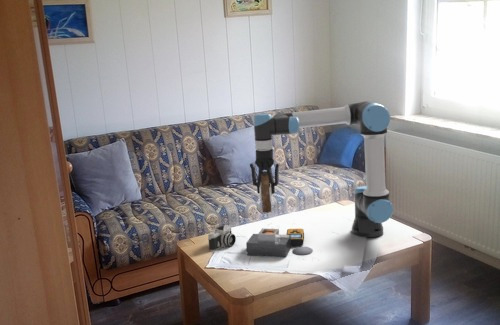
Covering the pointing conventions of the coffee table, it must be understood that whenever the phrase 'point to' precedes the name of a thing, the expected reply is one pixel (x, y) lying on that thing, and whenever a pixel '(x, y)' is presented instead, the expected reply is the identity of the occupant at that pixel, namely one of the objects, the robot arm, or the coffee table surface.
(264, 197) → the brown cylinder with cap
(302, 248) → the coaster
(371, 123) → the robot arm
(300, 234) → the electronic device
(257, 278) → the coffee table surface
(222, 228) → the camera
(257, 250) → the box
